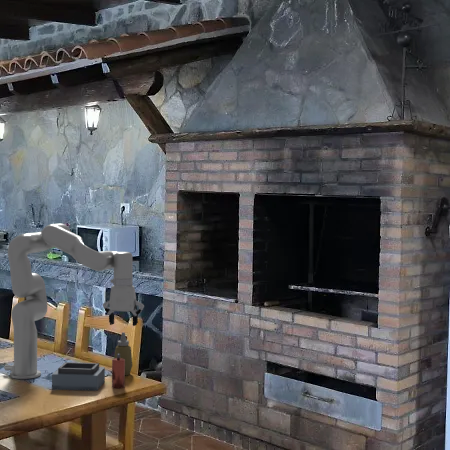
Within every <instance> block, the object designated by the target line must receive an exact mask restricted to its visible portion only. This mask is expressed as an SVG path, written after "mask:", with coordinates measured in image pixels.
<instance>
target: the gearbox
mask: <svg viewBox="0 0 450 450" xmlns="http://www.w3.org/2000/svg"><path fill="white" fill-rule="evenodd" d="M105 374H106V368H105V367H103V366H100V362H97V363H96V362H72V361H69V362H67V361H66V362H64V363H63V364H62V365H60V366H59V367H58V368H57V369H55V371H54V372H53V373H52V374H51V390H57V391H58V390H60V391H61V390H62V391H63V390H64V391H87V392H88V391H89V392H93V391H94V392H97V391H99V389H100V388H101V387H102V386H103V385H104V384H105V382H106V380H105V378H106V375H105Z"/></svg>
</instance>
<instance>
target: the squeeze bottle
mask: <svg viewBox="0 0 450 450" xmlns="http://www.w3.org/2000/svg"><path fill="white" fill-rule="evenodd" d="M126 337H127V336H126V332H125V331H123V332H121V336H120V340H117V345H116V346H115V350H114V357H113V359H115V358H117V354H118V353H119V354H120V358H122V359H125V375H126V376H128V374H129V375H130V374H131V371H132V368H133V357H132V356H133V355H132V354H133V353H132V346H130V344H129V343H130V342H129V340H128V339H127V338H126Z"/></svg>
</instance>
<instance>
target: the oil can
mask: <svg viewBox="0 0 450 450" xmlns="http://www.w3.org/2000/svg"><path fill="white" fill-rule="evenodd" d="M111 361H112V362H111V388H112V389H114V390H115V389H116V390H117V389H119V390H120V389H124V388H125V381H126V380H125V379H126V378H125V377H126V376H125V359H122V358H120V354H119V353H118V354H117V358H115V359H114V358H113V359H112V360H111Z"/></svg>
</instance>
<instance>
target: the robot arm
mask: <svg viewBox="0 0 450 450" xmlns="http://www.w3.org/2000/svg"><path fill="white" fill-rule="evenodd" d="M52 248H55V249H58V250H60V251H61V252H64V253H65V254H68V255H70V257H72V258H73V259H74V260H75V261H76V262H77V263H79V264H80V265H83V266H84V267H87V268H89V269H91V270H93V271H96V272H102V271H106V270H111V269H113V278H112V279H110V283H112V286H111V288H110V292H109V293H110V294H109V300H107V301H106V302H104V303H102V306H103V307H102V308H103V309H104V311H105V312H106V313H107V316H108V323H109V325H110V326H112V325H114V324H115V314H114V313H115V312H127V313H128V312H131V313H132V314H133V315H132V327H135V326H137V324H138V323H139V321H138V320H139V315H140V314H141V313H142V312H143V310H144V308H145V305H144V303H142V302H140V301H138V300H137V295H136V289H135V286H134V285H133V280H134V279H133V253H132V252H130V251H114V250H102V251H97V250H95V249H92V248H91V247H89V246H87V245H85V244H84V241H83V237H82V236H81V235H78V234H76V233H74V232H72V231H71V229H70V227H69V226H68V225H67V224H64V223H62V222H61V223H51V224H48V225H46V226H44V227H43V229H42V230H41V231H37V232H26V233H21V234H19V235H17V236H15V237H14V238H13V239H12V240H11V241H10V242H9V243H8V247H7V259H8V263H9V271H10V272H9V274H10V282H11V289H12V293H13V294H14V296H15V297H17V298H20V299H21V298H25V299H26V300H22V301H20V302H18V303H16V304H14V306H13V308H12V310H11V319H12V327H13V364H12V365H11V364H5V365H4V366H3V367H4V370H5V371H10V372H9V377H10V378H12V379H16V380H17V379H18V380H28V379H35V378H38V377H40V376H41V374H42V372H41V370H39V369H38V329H37V326H36V321H39V320H41V319H43V318H44V317H45V316H46V315H47V313H48V298H47V297H48V296H47V291H46V289H47V288H46V283H45V280H44V278H43V277H42V276H41V275H40V274H38V273H36V272H32V263H31V260H30V258H29V257H28V255H29V254H35V253H41V252H44V251H48V250H50V249H52ZM137 307H138V309H137Z"/></svg>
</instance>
